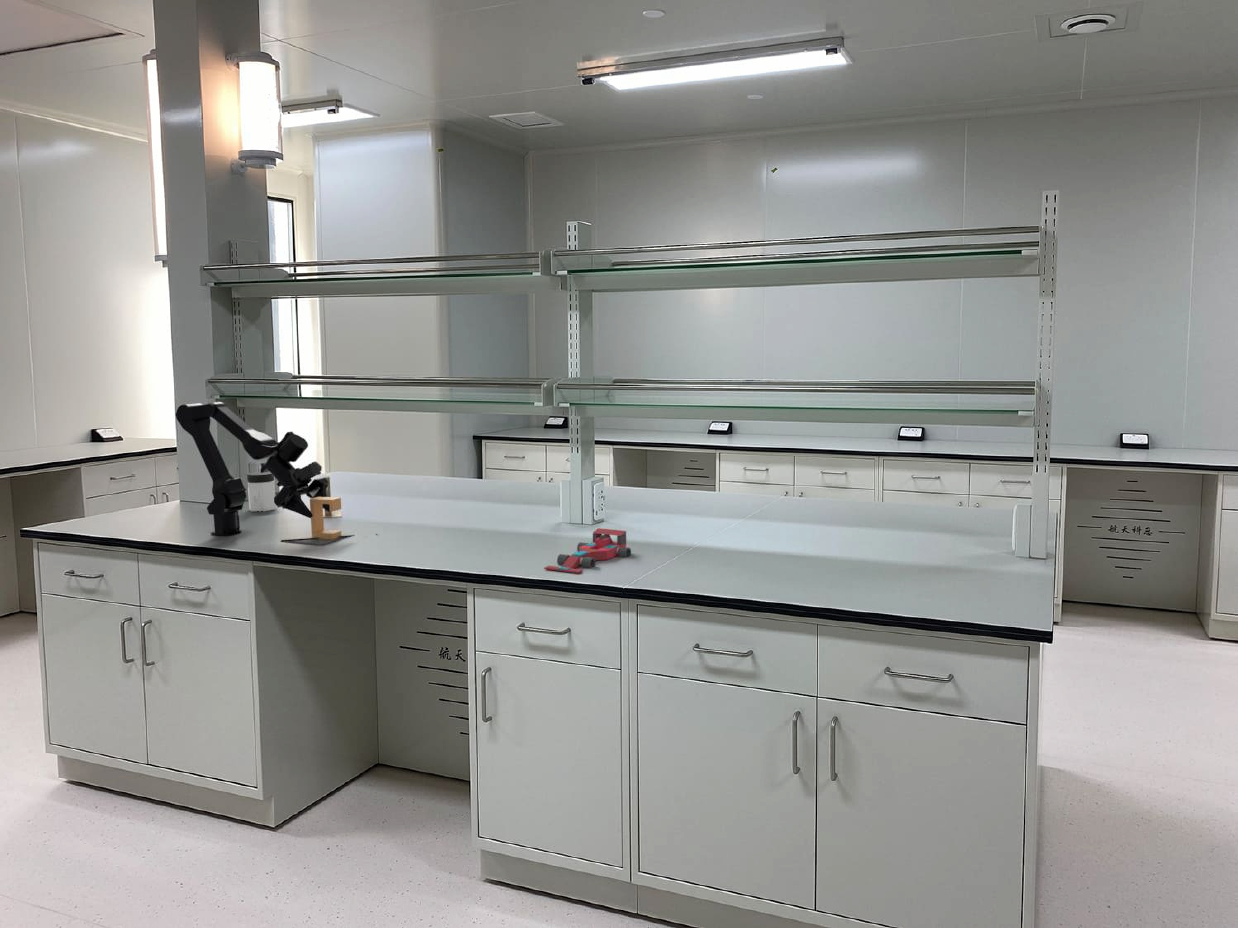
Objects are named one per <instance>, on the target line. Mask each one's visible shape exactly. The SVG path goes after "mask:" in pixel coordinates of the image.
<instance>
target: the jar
mask: <svg viewBox="0 0 1238 928" xmlns="http://www.w3.org/2000/svg"><path fill="white" fill-rule="evenodd" d="M274 480H275V477H274V476H273V475H272V474H271V473H270V472H265V473H261V472H260V471H253V472H248V473H246V481H247V493H248V496H247V497H248V508H249V511H250V512H254V513H255V512H256V513H257V511H259V513H260V512H261V511H263V512H268V511H269V512H270V511H275V510H276V504H275V503H274V497H275V496H276V491H275V481H274Z"/></svg>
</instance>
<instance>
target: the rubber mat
mask: <svg viewBox="0 0 1238 928" xmlns="http://www.w3.org/2000/svg"><path fill="white" fill-rule="evenodd" d="M340 536H341V537H338V538H336V539H317V538H318V537H307V538H305V537H304V538H292V539H290V538H289V539H281V541H280V542H281V543H288V544H297V545H298V544H301V545H310V544H311V546H312V544H313V546H322V545H323V546H326V545H329V544H331V543H336V542H338V540H339V541H341V539H342V540H345V539H348V538H351V537H355V534H351V535H348V534H347V535H340ZM325 544H326V545H325Z"/></svg>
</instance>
